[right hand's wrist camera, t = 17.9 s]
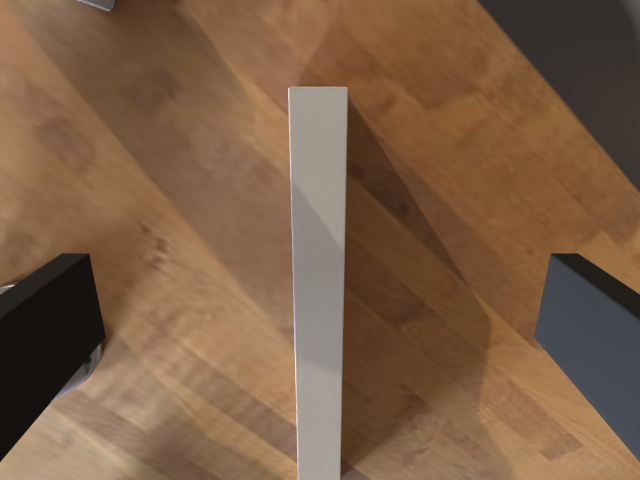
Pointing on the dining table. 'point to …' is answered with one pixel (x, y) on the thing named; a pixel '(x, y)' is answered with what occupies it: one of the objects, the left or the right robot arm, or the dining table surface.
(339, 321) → the bar
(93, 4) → the hard drive box
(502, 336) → the dining table surface
